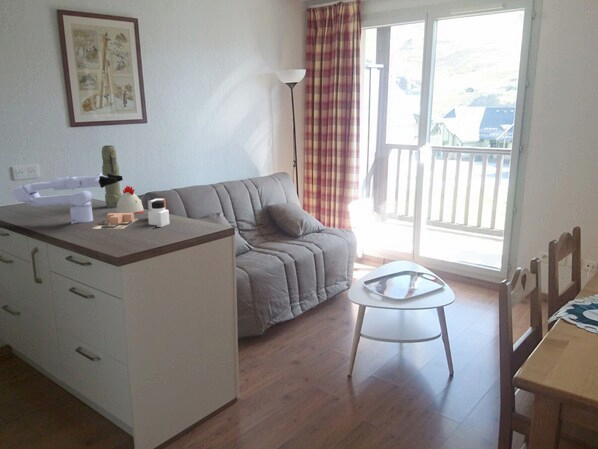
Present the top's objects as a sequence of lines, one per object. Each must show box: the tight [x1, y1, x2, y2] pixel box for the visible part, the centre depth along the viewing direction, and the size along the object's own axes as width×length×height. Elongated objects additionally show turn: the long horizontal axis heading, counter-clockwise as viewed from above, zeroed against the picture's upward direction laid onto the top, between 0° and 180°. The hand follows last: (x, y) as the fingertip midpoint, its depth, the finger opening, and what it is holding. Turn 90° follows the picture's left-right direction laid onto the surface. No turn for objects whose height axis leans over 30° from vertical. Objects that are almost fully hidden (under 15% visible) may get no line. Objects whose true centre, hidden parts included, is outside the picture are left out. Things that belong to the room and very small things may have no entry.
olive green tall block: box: [101, 145, 123, 209], centre depth 272 cm, size 9×12×35 cm
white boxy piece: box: [147, 198, 167, 212], centre depth 238 cm, size 8×6×10 cm
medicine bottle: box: [147, 200, 171, 228], centre depth 227 cm, size 7×7×12 cm
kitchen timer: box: [116, 185, 144, 215], centre depth 255 cm, size 14×14×15 cm
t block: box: [106, 212, 135, 224], centre depth 231 cm, size 12×10×4 cm
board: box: [91, 218, 139, 230], centre depth 229 cm, size 15×21×2 cm
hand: (119, 179), depth 230 cm, fingers open, 7 cm apart
